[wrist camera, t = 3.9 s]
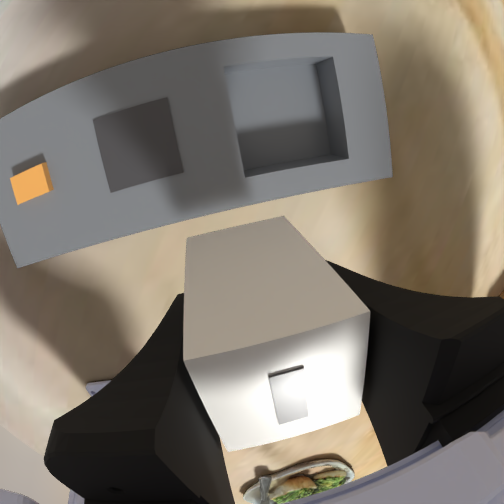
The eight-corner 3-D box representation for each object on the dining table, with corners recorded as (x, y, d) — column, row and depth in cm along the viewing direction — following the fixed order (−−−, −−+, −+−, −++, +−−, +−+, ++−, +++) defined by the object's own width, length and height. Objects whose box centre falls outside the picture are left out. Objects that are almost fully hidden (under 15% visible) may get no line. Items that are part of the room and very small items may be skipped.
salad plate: (209, 483, 34) (213, 509, 29) (327, 437, 33) (339, 465, 29) (268, 508, 42) (273, 527, 37) (357, 472, 41) (366, 491, 37)
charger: (294, 297, 14) (360, 416, 8) (209, 318, 14) (228, 453, 7) (283, 215, 12) (371, 313, 6) (186, 238, 12) (182, 362, 6)
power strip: (349, 44, 16) (377, 32, 13) (368, 169, 20) (398, 178, 17) (-37, 154, 14) (-66, 162, 10) (-4, 264, 17) (-27, 286, 14)
